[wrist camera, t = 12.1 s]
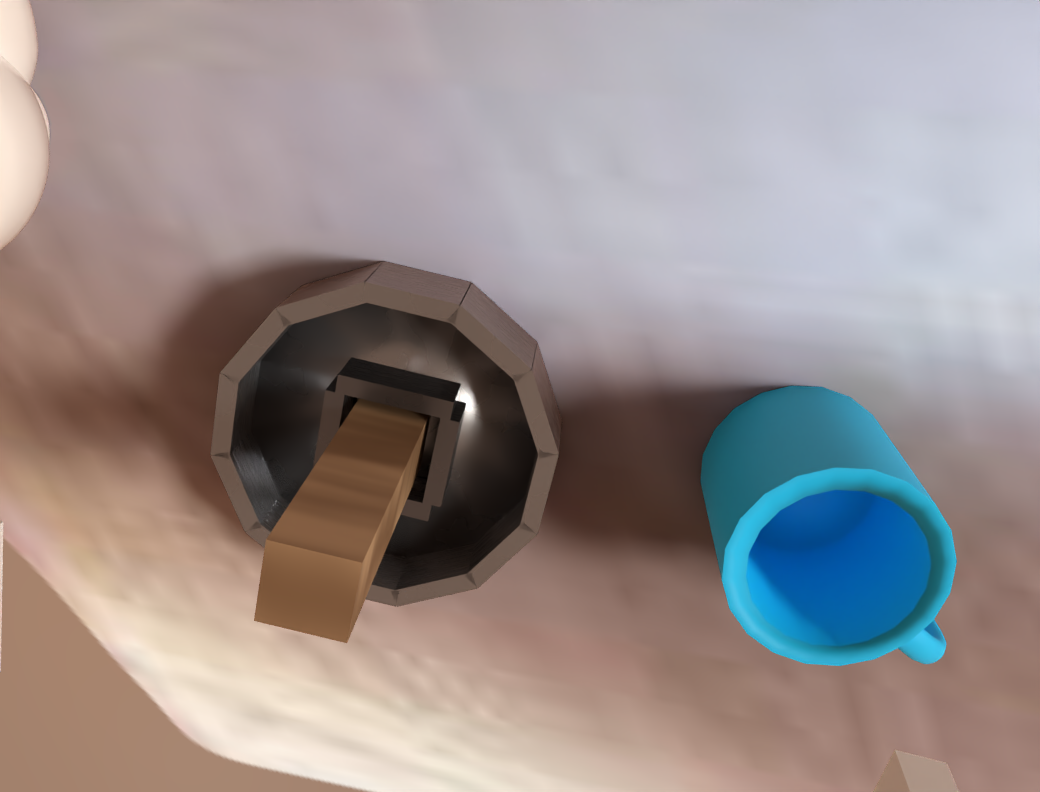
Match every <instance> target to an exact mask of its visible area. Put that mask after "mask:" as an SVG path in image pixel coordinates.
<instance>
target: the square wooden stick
mask: <svg viewBox="0 0 1040 792" xmlns="http://www.w3.org/2000/svg"><path fill="white" fill-rule="evenodd" d="M430 418H431V415H427V414H423V413H418V412H414V411H410V410H406V409H402V408H398V407H393V406H389V405H385V404H381V403H377V402H373V401H368V400H364V399H360V398H359V400H358V401H357V403H356V404H355V406H354V407H353V409H352V410H351V412H350V413H349V415H348V416H347V418H346V419H345V421H344V422H343V424H342V425H341V427H340V428H339V430H338V431H337V433H336V434H335V436H334V437H333V439H332V440H331V442H330V443H329V445H328V447H327V448H326V450H325V451H324V453H323V454H322V456H321V457H320V459H319V460H318V462H317V463H316V465H315V466H314V468H313V469H312V471H311V472H310V474H309V475H308V477H307V478H306V480H305V481H304V483H303V484H302V486H301V487H300V489H299V490H298V492H297V493H296V495H295V497H294V498H293V500H292V501H291V503H290V504H289V506H288V507H287V509H286V510H285V512H284V513H283V515H282V516H281V518H280V519H279V521H278V522H277V524H276V525H275V527H274V528H273V530H272V531H271V533H270V534H269V536H268V537H267V539H266V543H265V550H264V557H263V564H262V570H261V577H260V584H259V591H258V597H257V604H256V611H255V618H254V621H257V622H262V623H266V624H270V625H274V626H278V627H282V628H286V629H291V630H295V631H299V632H303V633H307V634H311V635H316V636H320V637H324V638H328V639H332V640H336V641H340V642H345V643H347V642H348V639H349V637H350V634H351V632H352V630H353V627H354V625H355V622H356V620H357V618H358V615H359V613H360V610H361V608H362V606H363V603H364V601H365V598H366V596H367V594H368V591H369V589H370V586H371V584H372V582H373V579H374V577H375V575H376V572H377V570H378V567H379V565H380V563H381V560H382V558H383V555H384V553H385V551H386V548H387V546H388V543H389V541H390V539H391V536H392V534H393V531H394V529H395V527H396V524H397V522H398V519H399V517H400V515H401V512H402V510H403V507H404V505H405V503H406V500H407V498H408V495H409V493H410V491H411V488H412V486H413V483H414V481H415V479H416V476H417V474H418V471H419V469H420V466H421V461H422V456H423V452H424V447H425V442H426V437H427V433H428V428H429V423H430Z"/></svg>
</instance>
